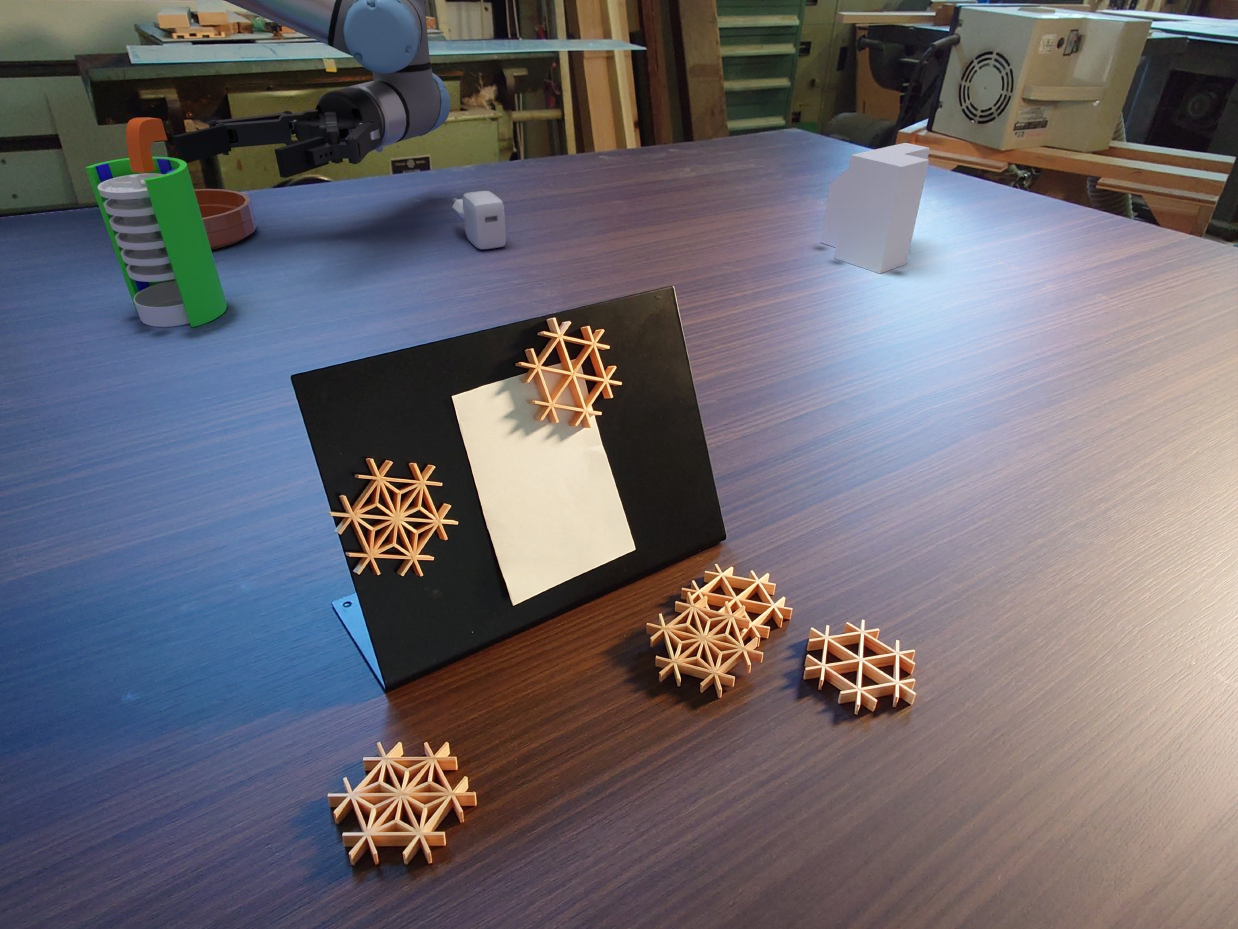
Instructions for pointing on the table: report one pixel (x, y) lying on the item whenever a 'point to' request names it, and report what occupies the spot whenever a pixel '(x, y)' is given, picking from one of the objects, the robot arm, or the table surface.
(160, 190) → the green-shelled ribbed roller
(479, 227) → the power adapter
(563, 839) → the table surface
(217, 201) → the bowl
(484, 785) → the table surface
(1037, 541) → the table surface
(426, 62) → the robot arm
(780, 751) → the table surface
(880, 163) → the white notched block
